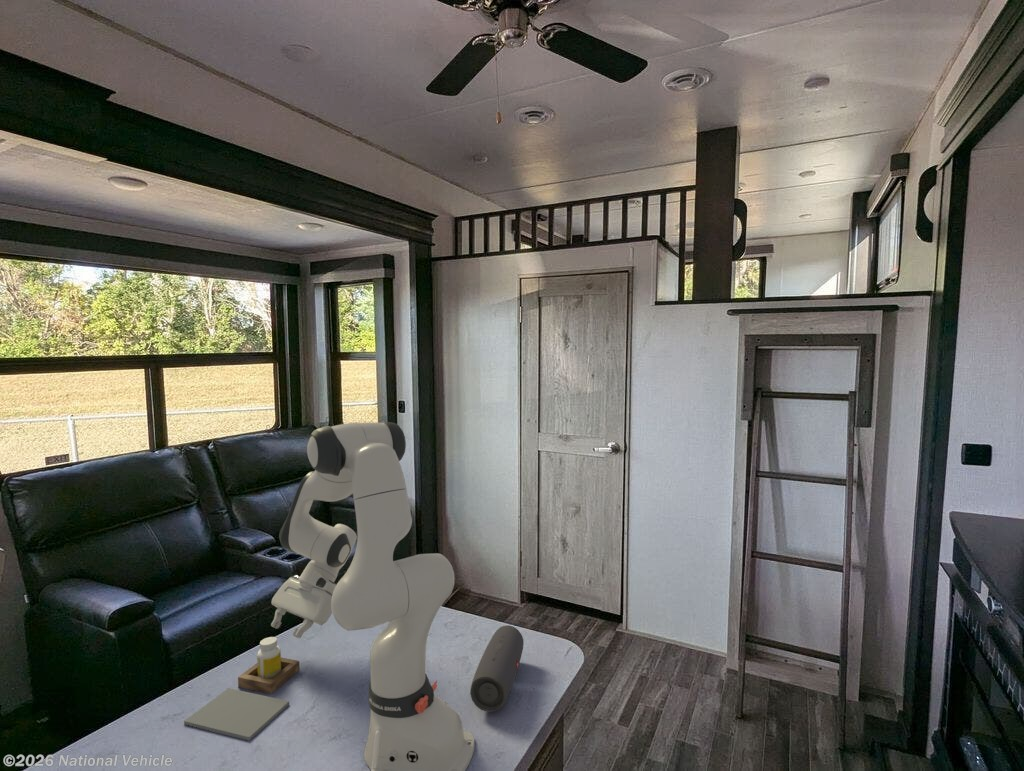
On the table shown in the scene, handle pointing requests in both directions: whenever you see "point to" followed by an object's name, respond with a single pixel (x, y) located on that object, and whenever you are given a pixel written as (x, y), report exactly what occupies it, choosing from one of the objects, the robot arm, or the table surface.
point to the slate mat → (237, 713)
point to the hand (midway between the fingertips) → (284, 632)
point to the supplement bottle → (268, 658)
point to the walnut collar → (268, 685)
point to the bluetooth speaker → (497, 669)
